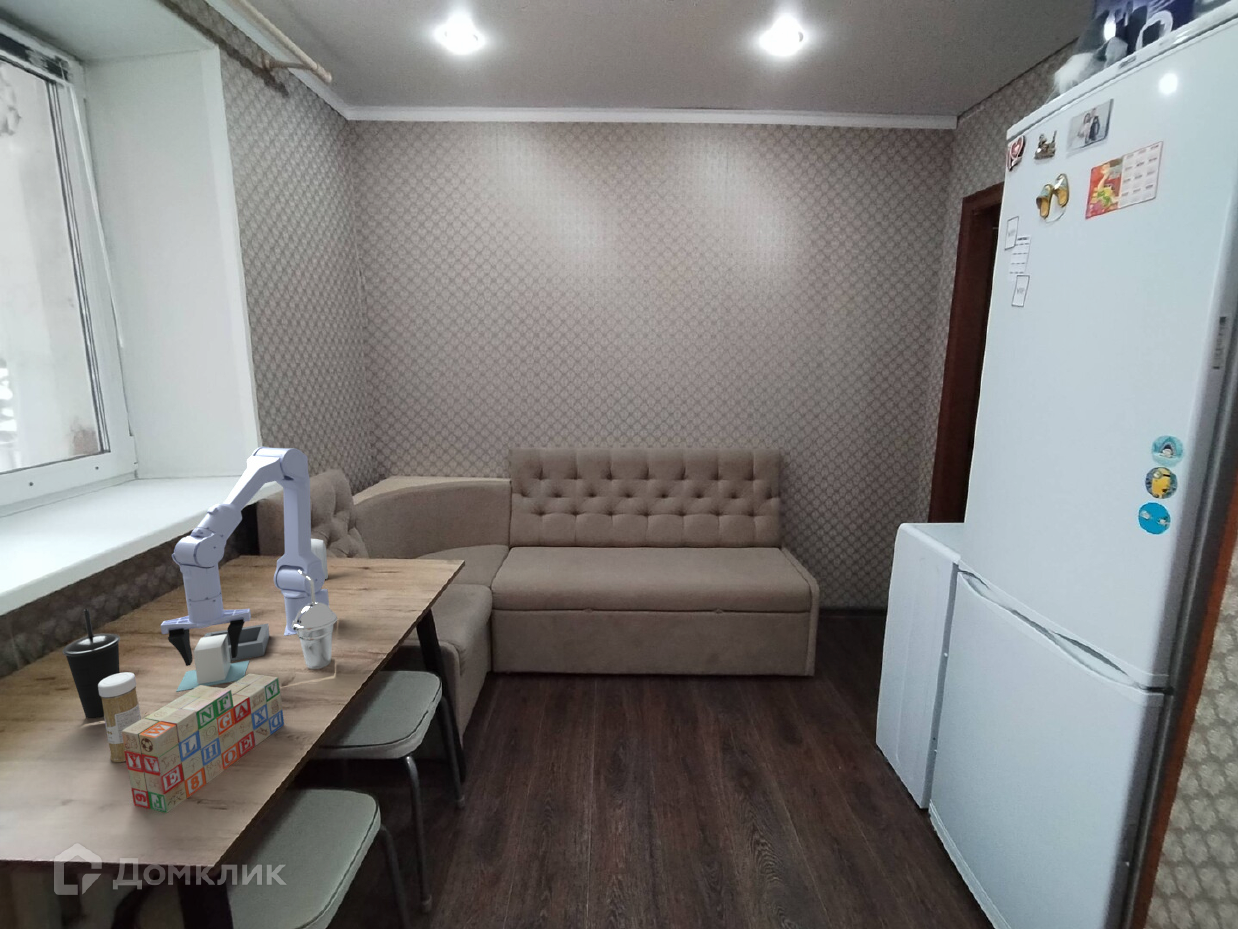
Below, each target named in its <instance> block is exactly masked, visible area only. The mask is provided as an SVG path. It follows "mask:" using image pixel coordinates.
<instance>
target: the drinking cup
mask: <svg viewBox="0 0 1238 929" xmlns="http://www.w3.org/2000/svg"><path fill="white" fill-rule="evenodd" d="M83 614H84V621H85V626H86V632H87V635H86V636H83V637H81V638H78V639H76V640H75V641H73V642H71V643H68V644H67V645H66V646H64V647H63V649H62V654H63V655H64V656H66V660H67V663H68V666H69V669H70V672H71V673H70V674H72V675H71V676H72V679H73V682H74V684H75V687H76V688H75V689H76V691H77V694H78V698H79V699H80V703H81V707H82V710H83V712H84V716H85V718H86V719H99V718H104V710H103V703H102V698H101V696H100V695H99V690H98V684H99V682H100V681H102V680H103V679H105V678H107V677H109V676H111V675H114V674H118V673H121V671H120V650H119V649H120V648H119V645H120V644H119V643H120V640H121V636H120V635H118V634H116V633H94V632H93V626H92V622H91V615H90V609H89V608H86V609H83Z"/></svg>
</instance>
